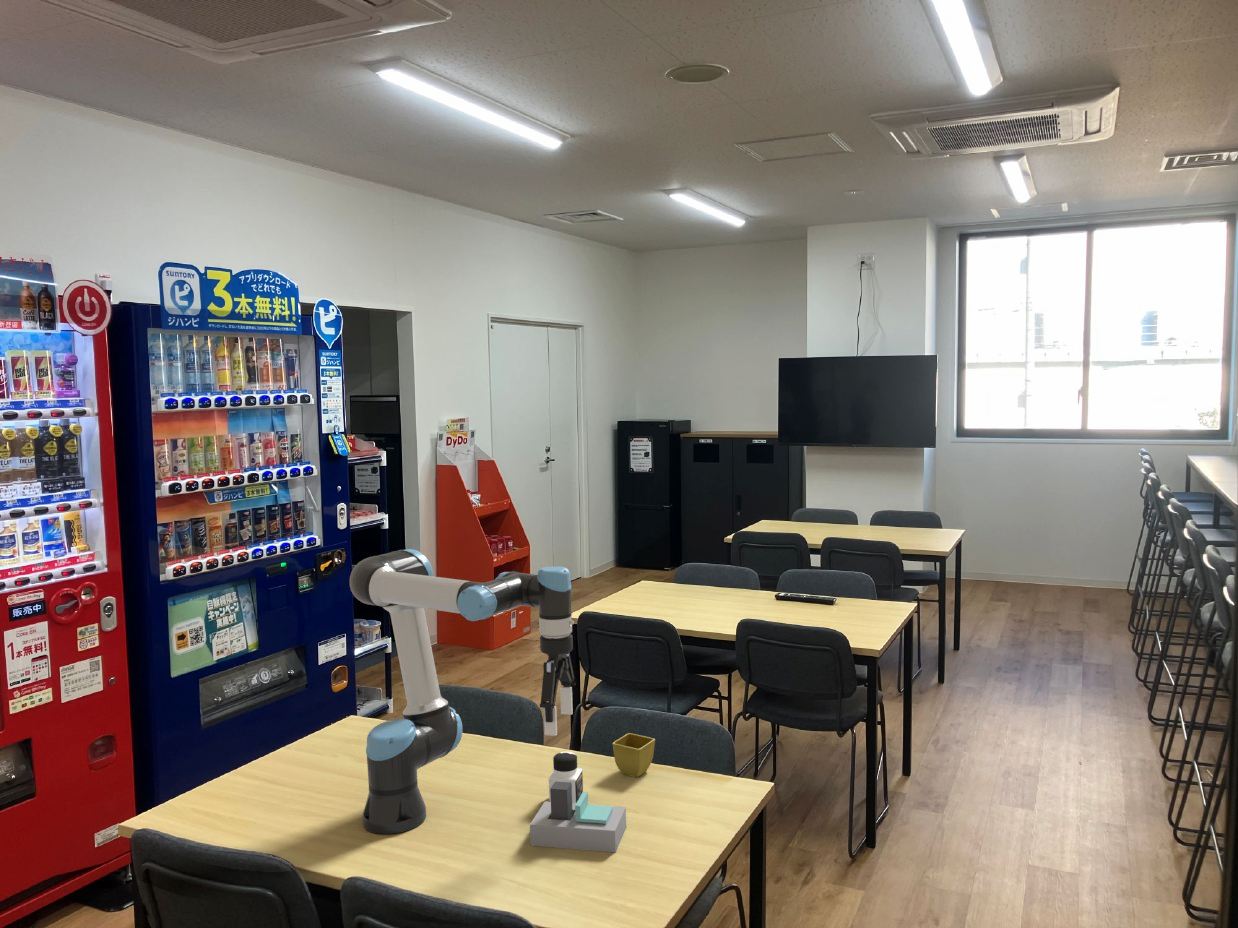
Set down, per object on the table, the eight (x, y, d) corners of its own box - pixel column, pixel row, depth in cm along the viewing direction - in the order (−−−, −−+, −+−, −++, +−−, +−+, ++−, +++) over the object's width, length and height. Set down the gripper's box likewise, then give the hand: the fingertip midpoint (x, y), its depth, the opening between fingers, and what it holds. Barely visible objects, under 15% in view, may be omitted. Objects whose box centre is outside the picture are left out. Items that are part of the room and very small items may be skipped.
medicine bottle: (576, 807, 230) (575, 760, 229) (549, 805, 231) (547, 759, 230) (583, 794, 237) (582, 749, 236) (556, 793, 238) (555, 748, 237)
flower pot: (656, 770, 251) (655, 738, 250) (640, 782, 243) (639, 749, 243) (629, 763, 255) (628, 732, 255) (612, 775, 248) (611, 743, 247)
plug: (552, 838, 214) (550, 788, 213) (556, 830, 218) (555, 781, 217) (568, 839, 213) (566, 789, 212) (573, 831, 217) (571, 782, 216)
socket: (530, 845, 211) (529, 824, 210) (545, 821, 222) (544, 801, 222) (615, 852, 207) (615, 830, 206) (626, 827, 218) (625, 806, 218)
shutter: (575, 821, 211) (575, 805, 210) (583, 807, 218) (582, 791, 217) (606, 823, 209) (605, 807, 209) (612, 809, 216) (612, 793, 216)
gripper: (557, 649, 199) (560, 745, 200) (585, 621, 223) (587, 706, 225) (523, 648, 200) (527, 743, 202) (555, 620, 225) (558, 704, 226)
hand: (559, 723), depth 213 cm, fingers open, 13 cm apart
